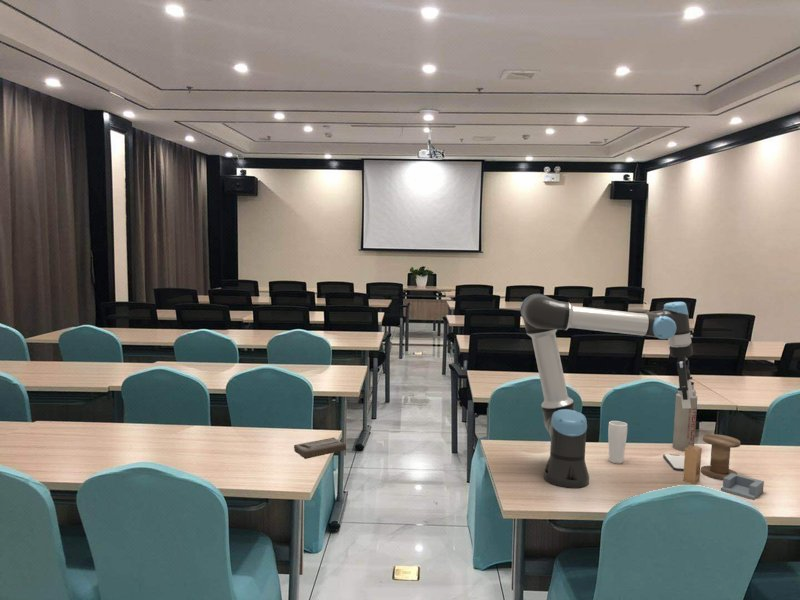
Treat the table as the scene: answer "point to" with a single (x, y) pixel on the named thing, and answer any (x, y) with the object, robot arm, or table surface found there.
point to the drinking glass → (617, 441)
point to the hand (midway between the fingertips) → (687, 402)
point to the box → (319, 448)
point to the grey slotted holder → (742, 486)
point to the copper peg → (692, 464)
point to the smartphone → (675, 461)
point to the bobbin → (719, 455)
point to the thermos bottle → (684, 422)
